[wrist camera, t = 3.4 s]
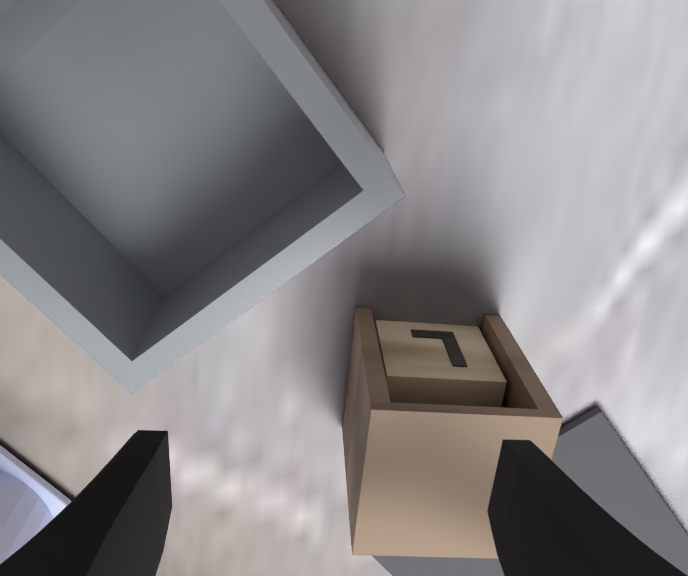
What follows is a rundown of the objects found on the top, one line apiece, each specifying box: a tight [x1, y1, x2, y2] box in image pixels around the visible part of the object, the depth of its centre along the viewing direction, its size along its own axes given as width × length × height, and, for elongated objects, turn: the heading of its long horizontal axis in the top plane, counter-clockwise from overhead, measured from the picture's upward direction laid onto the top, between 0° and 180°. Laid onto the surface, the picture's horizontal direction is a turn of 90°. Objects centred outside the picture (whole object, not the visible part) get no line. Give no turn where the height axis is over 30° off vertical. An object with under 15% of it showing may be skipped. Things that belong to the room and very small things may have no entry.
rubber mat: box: [372, 406, 688, 576], centre depth 29 cm, size 12×12×1 cm
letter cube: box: [375, 320, 507, 407], centre depth 23 cm, size 4×4×4 cm
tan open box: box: [342, 307, 563, 559], centre depth 22 cm, size 6×6×6 cm
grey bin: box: [0, 0, 405, 393], centre depth 18 cm, size 10×10×5 cm
